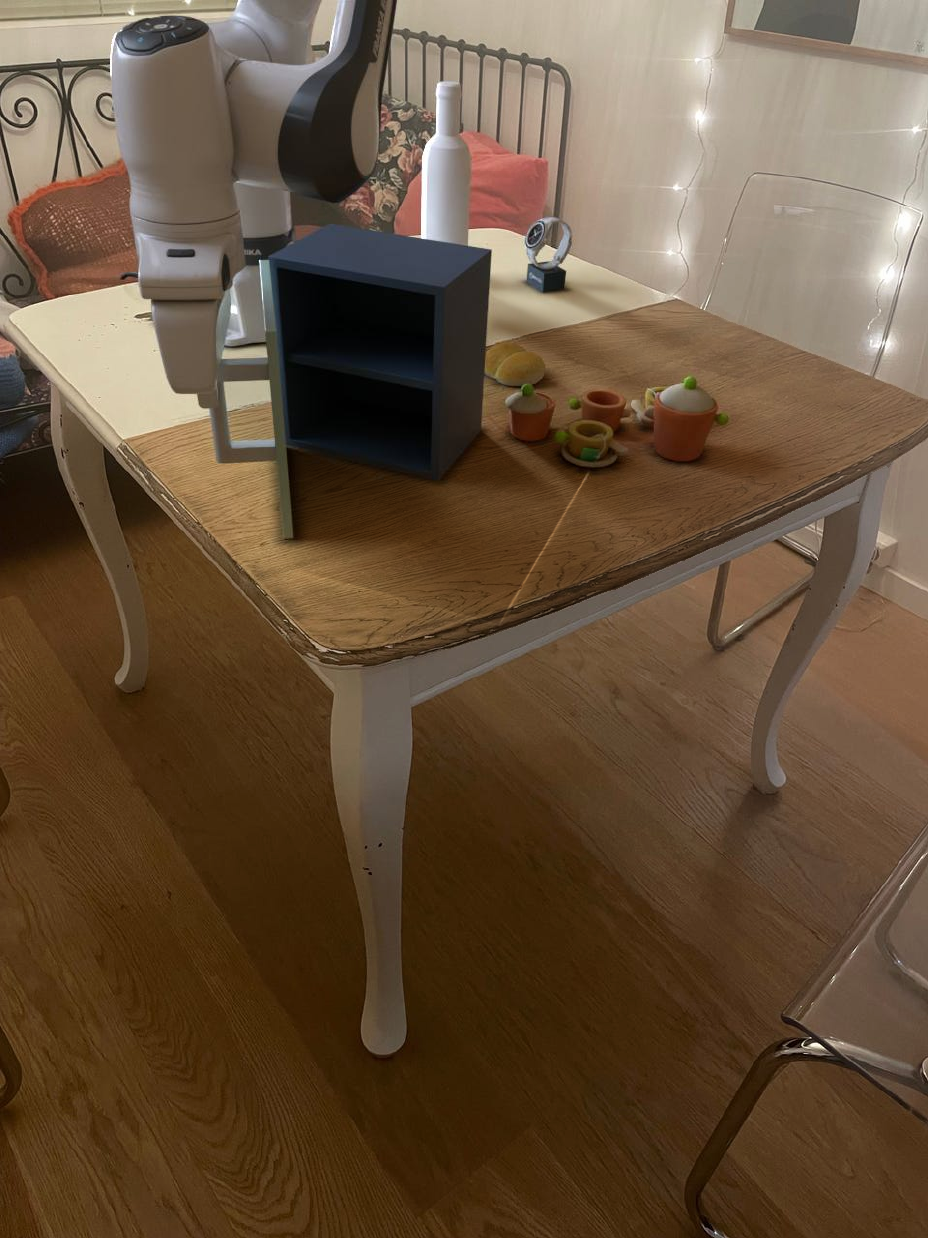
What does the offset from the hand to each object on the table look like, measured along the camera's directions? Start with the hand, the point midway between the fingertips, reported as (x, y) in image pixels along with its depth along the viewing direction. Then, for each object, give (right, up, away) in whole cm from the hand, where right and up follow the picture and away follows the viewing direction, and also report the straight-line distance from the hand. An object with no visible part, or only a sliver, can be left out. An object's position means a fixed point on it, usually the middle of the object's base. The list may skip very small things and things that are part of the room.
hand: (211, 398), depth 88 cm
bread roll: (+30, +13, +43) cm, 55 cm away
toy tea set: (+42, +1, +29) cm, 51 cm away
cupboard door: (+1, -7, +15) cm, 17 cm away
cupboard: (+14, +1, +27) cm, 30 cm away
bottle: (+20, +37, +72) cm, 84 cm away
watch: (+38, +36, +73) cm, 90 cm away
